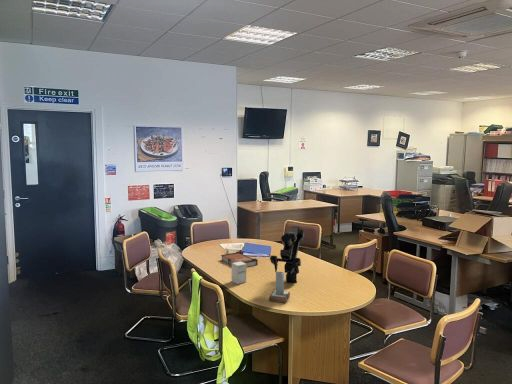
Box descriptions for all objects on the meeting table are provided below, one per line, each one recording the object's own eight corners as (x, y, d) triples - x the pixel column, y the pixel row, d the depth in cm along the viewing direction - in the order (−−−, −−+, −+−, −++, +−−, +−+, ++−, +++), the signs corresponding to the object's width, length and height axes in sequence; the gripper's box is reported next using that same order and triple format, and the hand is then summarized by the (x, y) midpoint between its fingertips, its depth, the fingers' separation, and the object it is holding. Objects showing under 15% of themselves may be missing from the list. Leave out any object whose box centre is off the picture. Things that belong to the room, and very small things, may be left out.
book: (220, 260, 312) (220, 254, 311) (239, 257, 321) (239, 251, 321) (237, 269, 290) (237, 263, 289) (257, 265, 300) (257, 259, 299)
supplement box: (237, 284, 258) (237, 265, 256) (231, 281, 264) (231, 262, 262) (246, 282, 262) (246, 263, 261) (240, 279, 268) (240, 261, 267)
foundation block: (273, 294, 240) (273, 289, 240) (289, 296, 237) (289, 291, 237) (269, 300, 231) (269, 295, 231) (285, 303, 228) (286, 297, 228)
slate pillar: (279, 291, 237) (279, 271, 236) (285, 293, 234) (285, 273, 232) (273, 293, 234) (274, 272, 232) (279, 295, 230) (280, 275, 229)
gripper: (270, 242, 246) (265, 265, 236) (300, 245, 240) (296, 268, 231) (273, 251, 254) (269, 273, 245) (302, 254, 248) (298, 277, 239)
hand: (283, 273), depth 240 cm, fingers open, 9 cm apart
